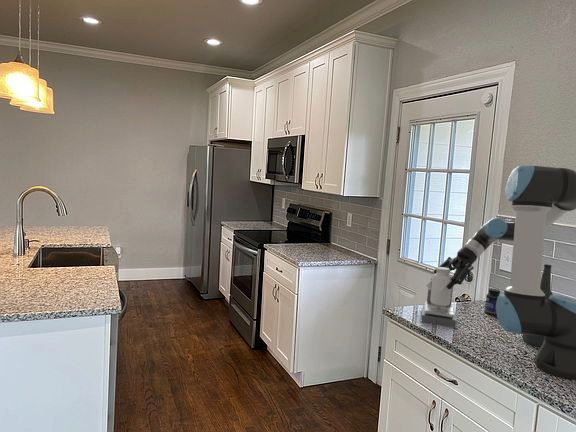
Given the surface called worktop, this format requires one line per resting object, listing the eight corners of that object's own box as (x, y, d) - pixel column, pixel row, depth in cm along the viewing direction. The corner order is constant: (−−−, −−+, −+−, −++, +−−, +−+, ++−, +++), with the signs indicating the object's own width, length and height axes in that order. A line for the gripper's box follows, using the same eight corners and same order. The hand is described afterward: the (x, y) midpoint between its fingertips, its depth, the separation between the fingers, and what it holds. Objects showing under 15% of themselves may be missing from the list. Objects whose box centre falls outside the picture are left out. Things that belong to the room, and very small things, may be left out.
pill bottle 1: (426, 300, 185) (429, 266, 184) (442, 300, 188) (445, 266, 186) (437, 306, 178) (441, 270, 176) (454, 306, 180) (458, 270, 179)
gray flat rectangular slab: (453, 317, 175) (453, 314, 175) (424, 313, 179) (425, 310, 179) (452, 308, 189) (452, 305, 188) (425, 304, 192) (425, 301, 192)
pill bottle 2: (481, 311, 200) (484, 288, 199) (490, 310, 203) (492, 287, 202) (493, 316, 195) (496, 292, 194) (502, 314, 198) (505, 291, 197)
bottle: (550, 341, 167) (561, 264, 164) (555, 350, 158) (567, 269, 155) (520, 336, 170) (530, 260, 168) (523, 344, 161) (534, 264, 159)
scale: (455, 327, 175) (458, 296, 174) (421, 322, 179) (424, 291, 178) (453, 315, 192) (456, 286, 191) (422, 310, 196) (425, 281, 195)
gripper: (493, 263, 176) (455, 304, 173) (457, 253, 196) (423, 289, 192) (484, 250, 174) (446, 291, 170) (449, 242, 194) (414, 278, 190)
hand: (434, 290), depth 181 cm, fingers closed on pill bottle 1, 8 cm apart
